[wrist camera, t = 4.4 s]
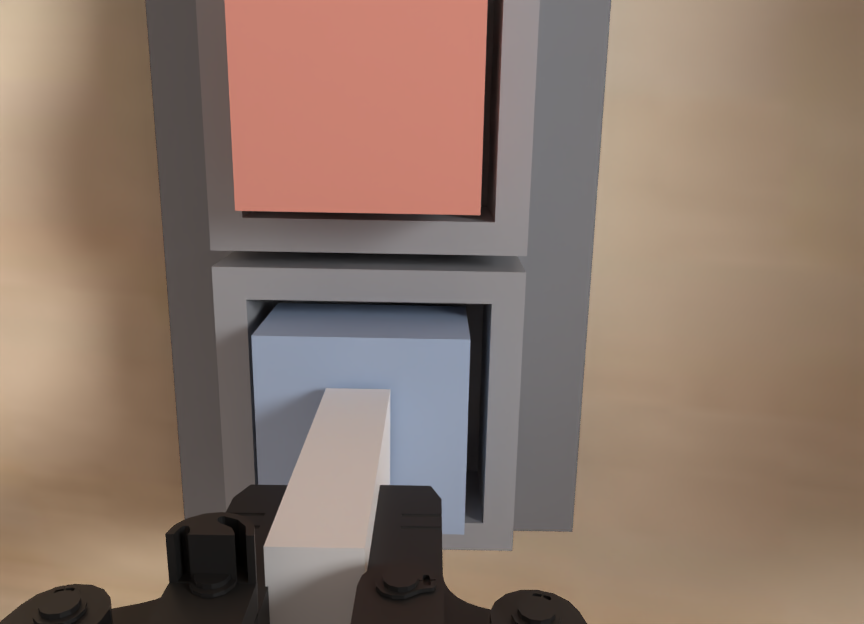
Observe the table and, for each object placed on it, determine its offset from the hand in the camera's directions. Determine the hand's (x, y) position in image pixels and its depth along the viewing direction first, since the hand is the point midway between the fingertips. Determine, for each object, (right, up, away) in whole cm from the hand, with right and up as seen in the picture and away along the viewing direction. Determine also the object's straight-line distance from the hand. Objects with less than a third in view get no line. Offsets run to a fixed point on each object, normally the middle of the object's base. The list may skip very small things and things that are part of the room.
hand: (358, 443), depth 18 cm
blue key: (0, +1, +3) cm, 3 cm away
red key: (0, +8, 0) cm, 8 cm away
